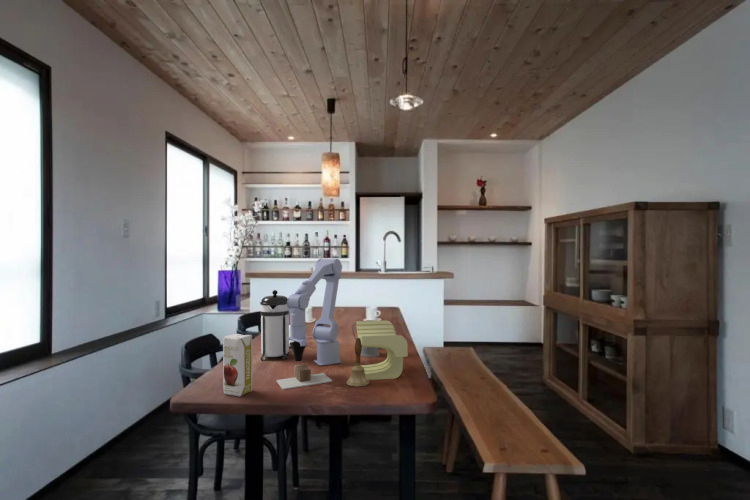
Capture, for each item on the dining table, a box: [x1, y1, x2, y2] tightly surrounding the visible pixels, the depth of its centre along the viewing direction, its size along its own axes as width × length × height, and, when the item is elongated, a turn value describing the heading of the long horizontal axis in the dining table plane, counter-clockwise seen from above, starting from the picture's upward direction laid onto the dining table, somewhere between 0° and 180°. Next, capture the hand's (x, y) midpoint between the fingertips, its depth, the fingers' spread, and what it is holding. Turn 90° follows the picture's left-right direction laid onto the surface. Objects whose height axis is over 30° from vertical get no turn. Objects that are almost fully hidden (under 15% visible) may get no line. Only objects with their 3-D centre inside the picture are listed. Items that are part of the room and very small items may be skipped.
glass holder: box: [351, 319, 381, 358], centre depth 181 cm, size 9×14×15 cm, turn 58°
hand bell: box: [346, 337, 371, 388], centre depth 141 cm, size 8×8×16 cm
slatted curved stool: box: [355, 319, 409, 381], centre depth 152 cm, size 30×16×18 cm, turn 6°
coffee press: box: [259, 289, 290, 361], centre depth 178 cm, size 17×16×30 cm
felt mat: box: [275, 372, 333, 390], centre depth 143 cm, size 18×10×1 cm, turn 117°
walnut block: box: [294, 364, 312, 382], centre depth 145 cm, size 4×4×7 cm
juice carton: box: [222, 333, 254, 397], centre depth 132 cm, size 8×9×19 cm
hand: (298, 361), depth 151 cm, fingers closed
